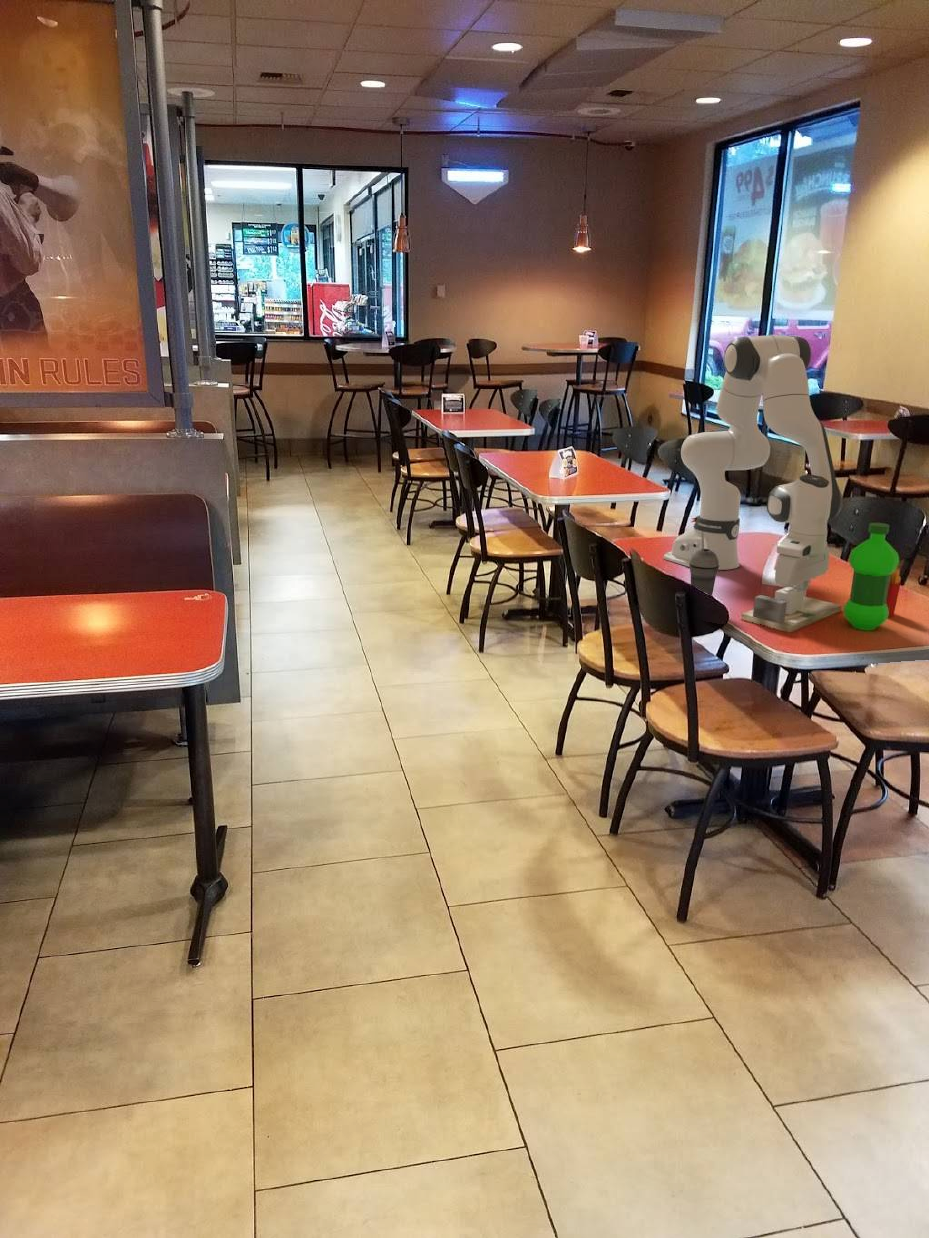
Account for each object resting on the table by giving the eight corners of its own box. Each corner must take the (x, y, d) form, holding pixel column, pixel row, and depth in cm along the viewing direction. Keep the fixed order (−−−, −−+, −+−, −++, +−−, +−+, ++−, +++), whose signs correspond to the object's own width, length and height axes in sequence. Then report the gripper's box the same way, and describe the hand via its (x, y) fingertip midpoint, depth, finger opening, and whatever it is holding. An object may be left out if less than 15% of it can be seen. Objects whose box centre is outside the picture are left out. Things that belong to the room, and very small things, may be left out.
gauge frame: (741, 619, 225) (743, 594, 222) (793, 599, 240) (796, 575, 238) (789, 632, 215) (793, 606, 213) (840, 610, 231) (844, 586, 229)
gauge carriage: (766, 613, 224) (769, 592, 222) (785, 605, 229) (788, 585, 228) (797, 621, 218) (800, 599, 216) (816, 613, 224) (819, 592, 222)
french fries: (898, 617, 227) (906, 570, 223) (883, 618, 226) (891, 571, 222) (879, 607, 235) (886, 561, 231) (865, 607, 234) (872, 562, 230)
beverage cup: (707, 615, 227) (715, 536, 221) (680, 609, 232) (687, 532, 225) (719, 608, 233) (727, 531, 227) (692, 602, 237) (699, 527, 231)
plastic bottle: (834, 627, 219) (848, 525, 211) (851, 616, 227) (865, 517, 219) (877, 636, 213) (893, 531, 205) (893, 626, 220) (909, 524, 212)
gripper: (815, 534, 233) (808, 586, 237) (773, 547, 220) (766, 602, 224) (839, 538, 228) (831, 591, 233) (797, 552, 215) (790, 608, 219)
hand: (799, 597), depth 228 cm, fingers closed
